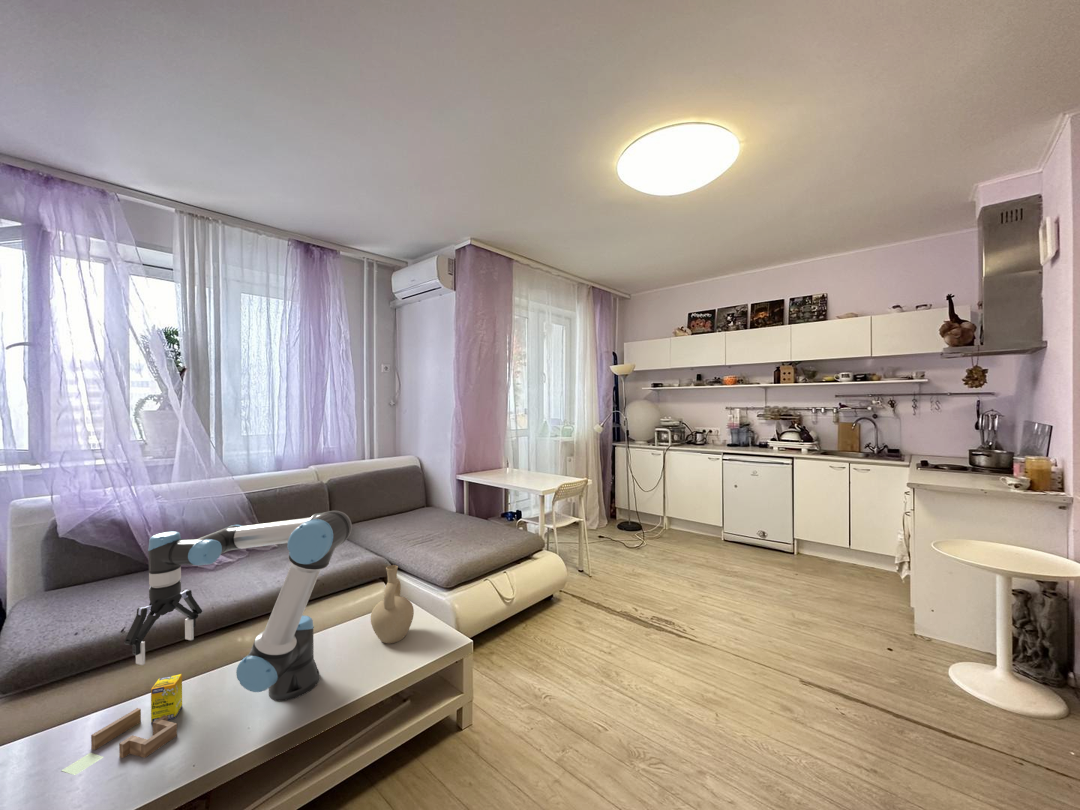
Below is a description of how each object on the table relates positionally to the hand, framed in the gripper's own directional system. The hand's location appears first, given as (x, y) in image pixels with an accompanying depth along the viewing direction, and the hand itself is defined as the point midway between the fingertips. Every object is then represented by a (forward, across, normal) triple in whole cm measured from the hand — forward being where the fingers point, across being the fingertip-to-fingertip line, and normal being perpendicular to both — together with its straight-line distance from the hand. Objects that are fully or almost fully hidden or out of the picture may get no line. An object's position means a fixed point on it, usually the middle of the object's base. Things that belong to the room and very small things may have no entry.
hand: (166, 650), depth 133 cm
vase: (+20, -55, +43) cm, 73 cm away
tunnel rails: (+20, +10, 0) cm, 22 cm away
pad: (+20, +19, 0) cm, 28 cm away
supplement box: (+20, 0, 0) cm, 21 cm away
